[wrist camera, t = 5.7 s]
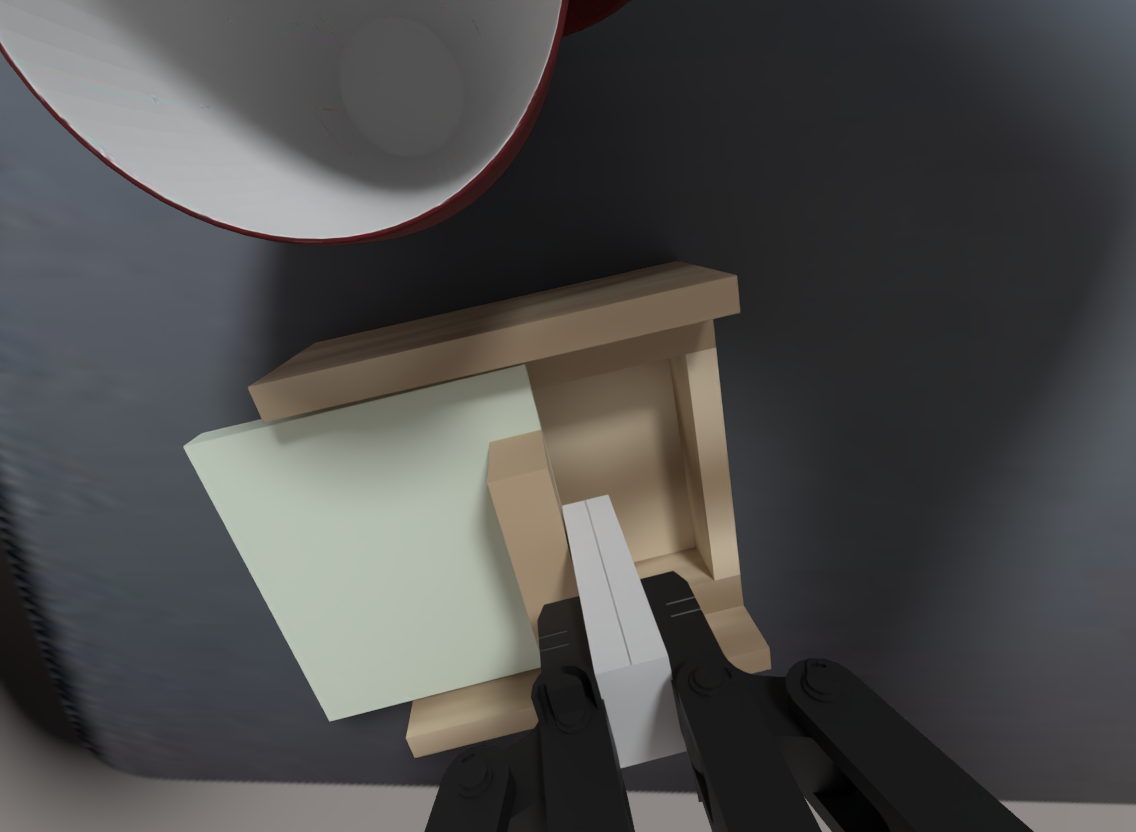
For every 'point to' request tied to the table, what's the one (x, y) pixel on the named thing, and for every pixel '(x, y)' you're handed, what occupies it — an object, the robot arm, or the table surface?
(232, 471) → the lid
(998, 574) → the table surface
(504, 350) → the birch box
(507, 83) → the mug
